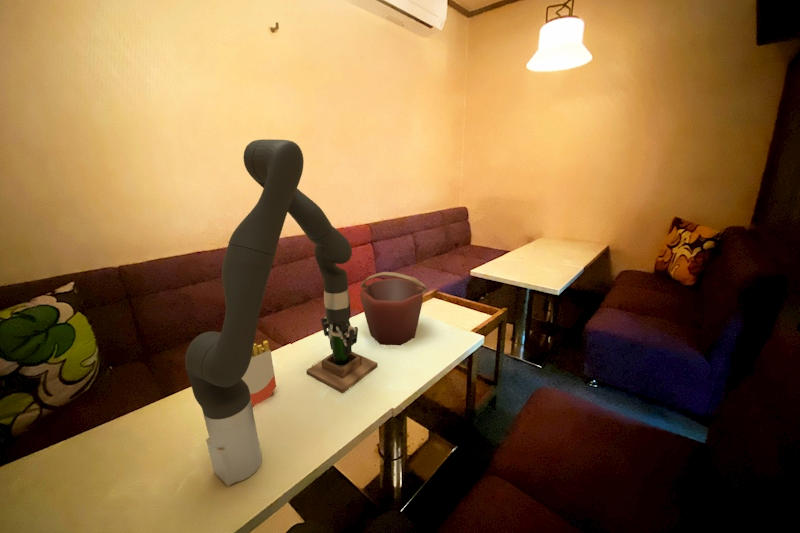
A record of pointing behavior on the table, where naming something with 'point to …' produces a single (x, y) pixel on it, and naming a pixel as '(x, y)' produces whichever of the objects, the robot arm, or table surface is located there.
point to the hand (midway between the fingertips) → (341, 351)
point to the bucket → (392, 307)
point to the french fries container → (260, 374)
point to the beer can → (339, 349)
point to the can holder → (342, 371)
